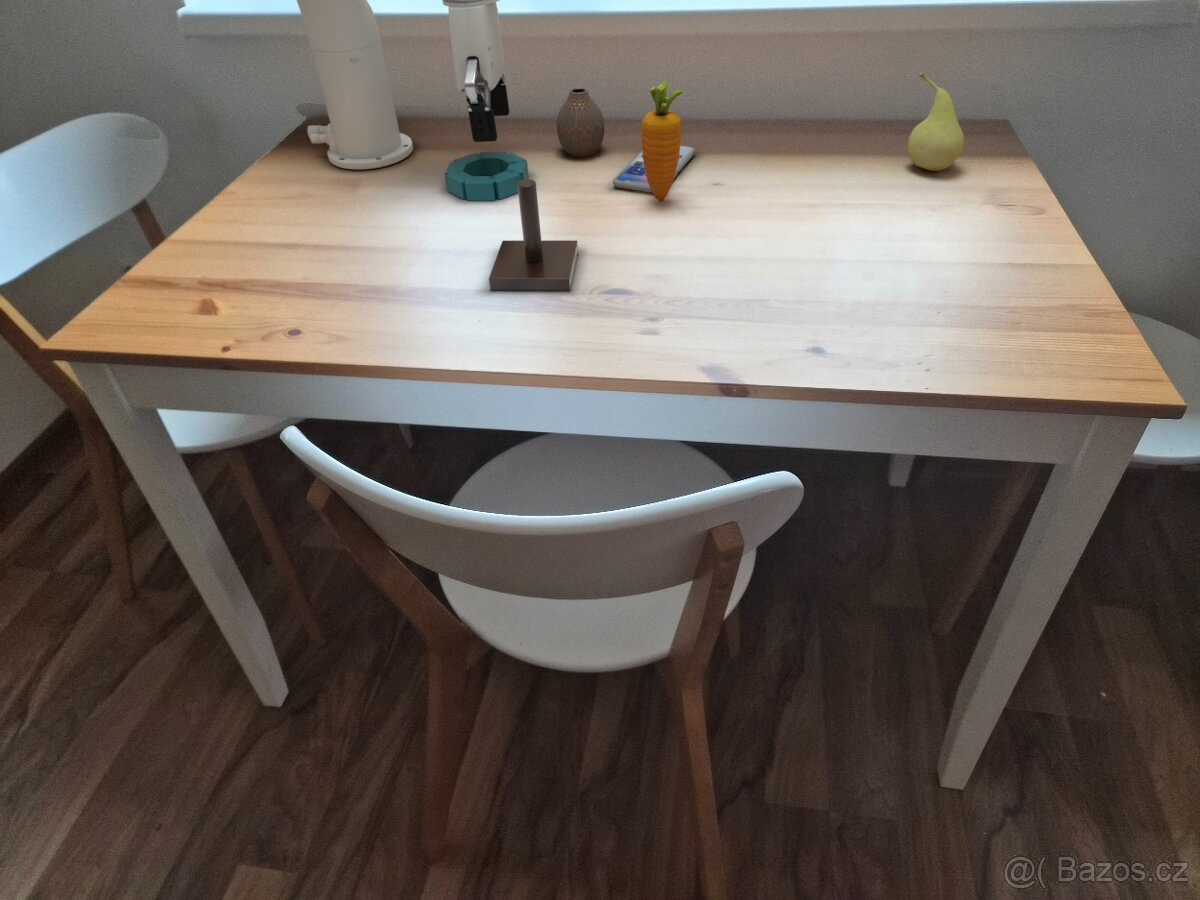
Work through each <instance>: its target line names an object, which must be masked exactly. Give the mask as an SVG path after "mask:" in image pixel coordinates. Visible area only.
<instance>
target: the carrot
mask: <svg viewBox="0 0 1200 900" xmlns="http://www.w3.org/2000/svg"><path fill="white" fill-rule="evenodd" d="M668 86H669V81H668V80H663V81H662V82H661V83H660V84H659V85H658V86H657V87H656V86H653V87H651V88H650V90H649V93H650V96H651V97H652V100H653V102H654V105H655V110H652V111H648V113H646V114H645V116H644V118H643V119H642V121H641V125H640V126H641V127H640V129H641V151H642V153H643V161H644V167H645V172H646V176H647V180H648V183H649V186H650V188H651V190H652V192H653V193H652V192H651V193H652V194H653V196H654V198H655V200H656V201H657V202H659V203H663V202H664V201H665V199H666V198H667V196H668V194H669V192H670V190H671V188H672V186H673V182H674V180H675V178H676V176H675V173H676V169H677V164H678V159H679V154H680V146H681V142H682V141H681V139H682V118H681V116H680V115H679V114H678V113H676V112H674V111H672V110H670V109H669V108H670V106H671V105H672V103H673V101H674V100H675V99H676V98H677V97H678V96H680V95H682V94H683V91H682V90H681V89H680V88H678V89H675V90H674V91H673V92H672V93H671V94H670V95H669V97H668V96H667V93H668Z"/></svg>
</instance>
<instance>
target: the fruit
mask: <svg viewBox="0 0 1200 900" xmlns="http://www.w3.org/2000/svg"><path fill="white" fill-rule="evenodd" d="M918 76H919V77H920V78H921V79H922V80H923V81H924V82H926V83H928V84H929V85H930V86H931V87H932V88H933V90H934V92H935V97H934V101H933V104H932V107H931V109H930V111H929V114H928V116H927V117H926V118H925V119H924V120H922V121H921V122H920V123H918V124H916V126H915V127H914V128H913V129H912V131H911V133H910V135H909V137H908V139H907V144H906V145H907V146H906V150H907V155H908V157H909V159H910V161H911V162H912V164H914V165H915V166H917V167H918V168H921V170H923V169H924V170H928V171H930V172H939V171H943V170H945V169H947V168H948V167H950V166H951V165H953V164H954V163H955V162H956V161H957V159H958V158H959V157H960V156H961V154H962V151H963V149H964V144H965V136H964V132H963V130H962V128H961V125H960V124H959V120H958V117H957V115H956V111H955V106H954V102H953V100H952V97H951V95H950V94H949V92H948V91H947V90H946V89H945V88H943V87H939V86H938V85H937V84H936V83H934V82H933V80H931V79H930V78H929V77H928V76H927V75H926V74H925V73H924V72H923V71H920V73H919V74H918Z"/></svg>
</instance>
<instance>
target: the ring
mask: <svg viewBox="0 0 1200 900" xmlns="http://www.w3.org/2000/svg"><path fill="white" fill-rule="evenodd" d="M528 166H529V165H528V161H527V159H525V158H523V157H521V156H519V155H517V154H515V153H513V152H509V151H508V152H507V151H479V153H478V152H474V153H471V154H468V155H464V156H462V157H459V158H456V159H453V161H451V162H449V164H448V165H447V168H446V170H445V171H444V178H445V183H446V189H447V191H448V192H449V193H450V194H452V195H454V196H456V197H457V198H459V199H461V200H467V201H470V202H471V201H472V202H474V201H475V202H478V201H479V202H480V201H481V202H482V201H484V202H485V201H488V202H490V201H493V202H495V201H496V199H497V200H502V199H505V198H507V197H511V196H513V195H515V194H518V187H517V183H518V182H519V181H521V180H525V179H530V178H529V167H528Z"/></svg>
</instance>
